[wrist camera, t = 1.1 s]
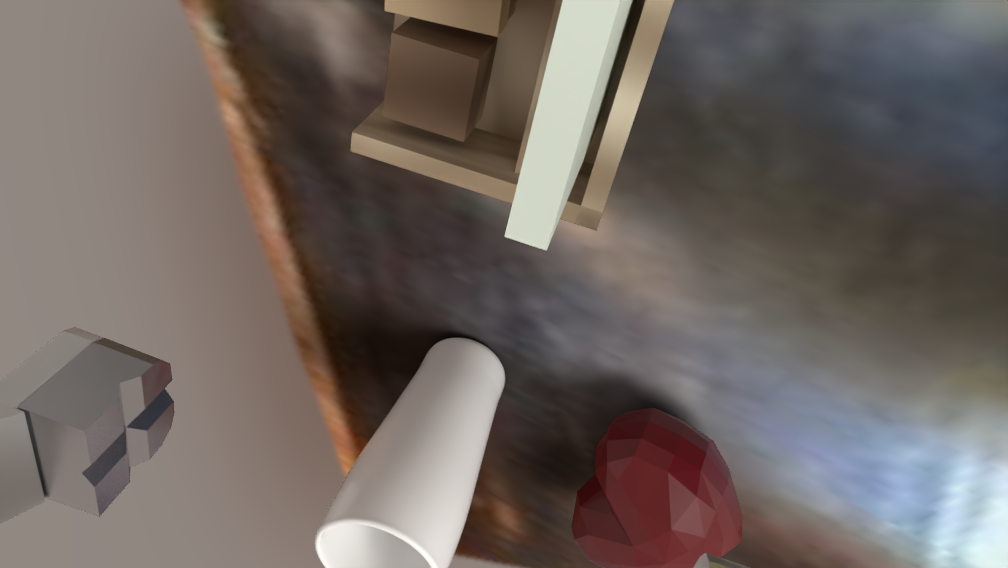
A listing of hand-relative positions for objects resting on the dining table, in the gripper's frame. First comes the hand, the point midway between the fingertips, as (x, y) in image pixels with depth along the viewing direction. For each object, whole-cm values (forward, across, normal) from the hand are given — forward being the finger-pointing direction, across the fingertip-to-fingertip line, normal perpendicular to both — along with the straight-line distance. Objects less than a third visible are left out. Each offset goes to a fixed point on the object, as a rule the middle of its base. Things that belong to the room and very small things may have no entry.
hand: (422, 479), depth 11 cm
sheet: (+27, +1, -1) cm, 27 cm away
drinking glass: (+29, +4, +24) cm, 38 cm away
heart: (+29, -10, +26) cm, 41 cm away
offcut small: (+27, +8, +5) cm, 28 cm away
